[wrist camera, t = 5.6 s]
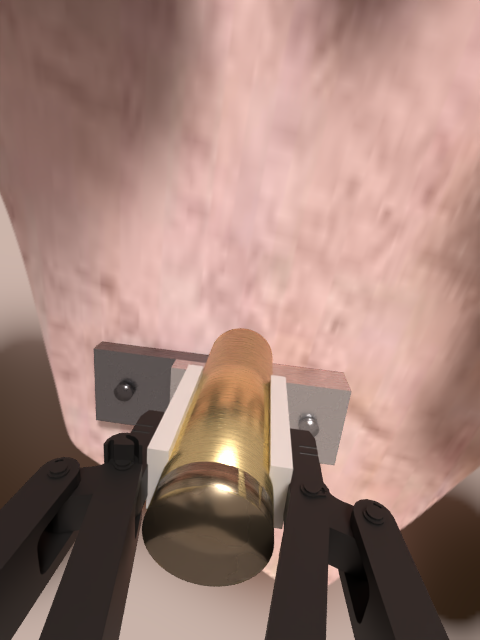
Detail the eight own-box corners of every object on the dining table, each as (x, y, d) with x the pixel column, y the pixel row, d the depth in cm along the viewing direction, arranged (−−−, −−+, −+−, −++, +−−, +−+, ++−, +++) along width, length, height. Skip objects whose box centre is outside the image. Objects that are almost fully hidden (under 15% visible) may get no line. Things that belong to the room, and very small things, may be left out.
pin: (198, 351, 23) (115, 525, 11) (246, 316, 22) (214, 463, 10) (237, 395, 24) (201, 603, 12) (284, 363, 23) (301, 553, 10)
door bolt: (102, 341, 40) (80, 359, 35) (343, 372, 38) (353, 395, 34) (104, 410, 43) (84, 435, 38) (328, 441, 41) (335, 470, 37)
